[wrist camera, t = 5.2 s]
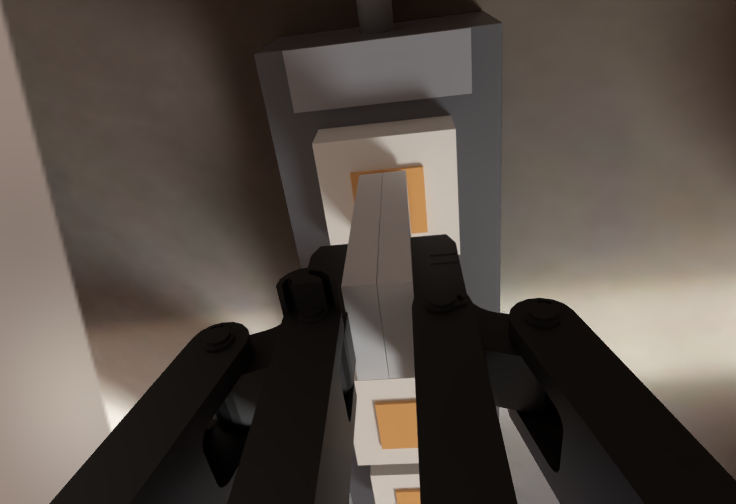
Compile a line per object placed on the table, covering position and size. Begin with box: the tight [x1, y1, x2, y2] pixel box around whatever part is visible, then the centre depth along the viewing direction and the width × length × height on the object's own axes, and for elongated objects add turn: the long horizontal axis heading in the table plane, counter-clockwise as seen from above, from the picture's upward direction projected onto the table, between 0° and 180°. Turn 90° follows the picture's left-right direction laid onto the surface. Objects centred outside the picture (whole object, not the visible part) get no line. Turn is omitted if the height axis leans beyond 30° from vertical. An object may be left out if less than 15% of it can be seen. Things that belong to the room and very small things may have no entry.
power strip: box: [254, 0, 503, 504], centre depth 23 cm, size 29×8×4 cm, turn 7°
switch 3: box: [370, 463, 421, 504], centre depth 27 cm, size 5×5×6 cm
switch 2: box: [353, 368, 419, 466], centre depth 21 cm, size 5×5×6 cm
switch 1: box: [312, 115, 460, 255], centre depth 20 cm, size 5×5×6 cm
